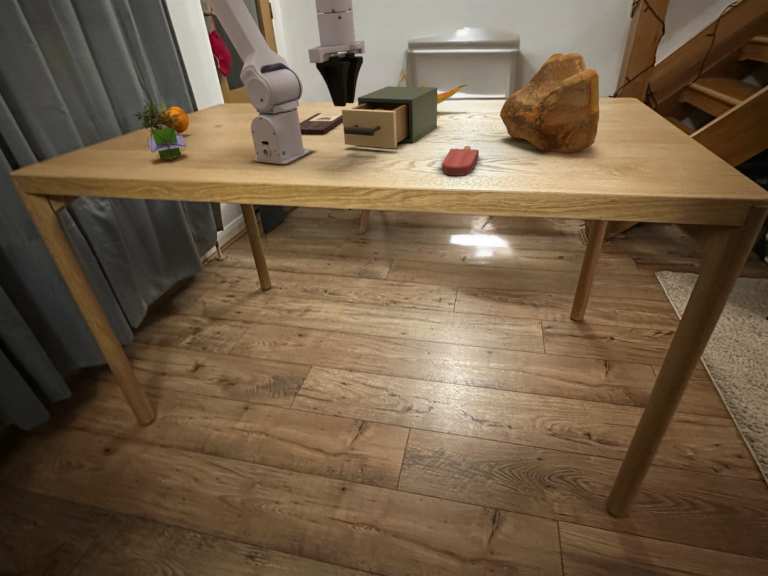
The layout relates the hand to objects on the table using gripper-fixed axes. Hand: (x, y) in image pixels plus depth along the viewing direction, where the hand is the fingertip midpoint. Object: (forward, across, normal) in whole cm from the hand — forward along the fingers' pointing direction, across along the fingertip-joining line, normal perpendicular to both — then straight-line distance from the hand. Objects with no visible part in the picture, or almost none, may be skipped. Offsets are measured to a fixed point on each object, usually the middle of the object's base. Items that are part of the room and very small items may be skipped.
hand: (344, 104), depth 75 cm
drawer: (+9, +13, 0) cm, 16 cm away
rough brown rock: (+11, +24, -31) cm, 41 cm away
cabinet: (+10, +24, 0) cm, 26 cm away
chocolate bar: (+10, +26, +23) cm, 36 cm away
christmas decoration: (+10, +18, +51) cm, 55 cm away
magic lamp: (+11, +44, 0) cm, 46 cm away
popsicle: (+11, +6, -20) cm, 23 cm away
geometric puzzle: (+10, -8, +38) cm, 41 cm away
